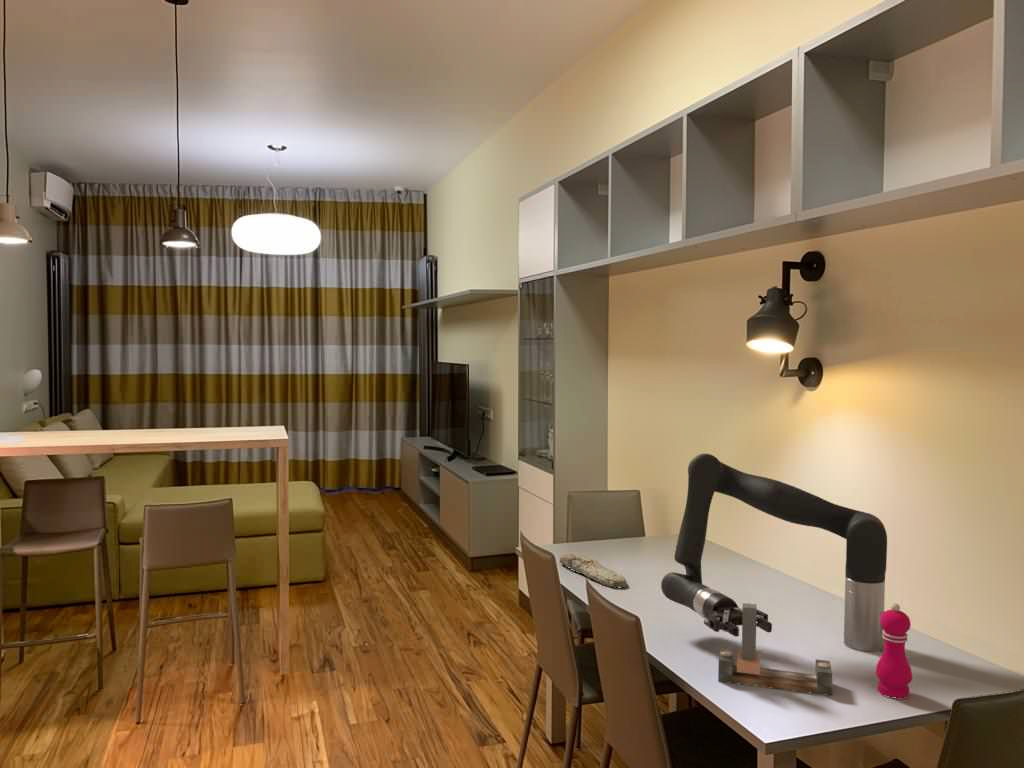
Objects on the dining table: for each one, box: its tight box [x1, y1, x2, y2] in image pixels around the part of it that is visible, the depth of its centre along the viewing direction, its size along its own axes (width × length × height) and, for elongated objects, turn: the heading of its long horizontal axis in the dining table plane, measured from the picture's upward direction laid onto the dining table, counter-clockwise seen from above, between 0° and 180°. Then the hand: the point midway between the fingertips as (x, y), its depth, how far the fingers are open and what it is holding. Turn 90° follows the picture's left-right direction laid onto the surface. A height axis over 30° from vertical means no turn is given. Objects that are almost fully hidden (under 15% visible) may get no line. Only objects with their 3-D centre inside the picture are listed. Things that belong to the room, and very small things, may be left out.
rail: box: [717, 648, 833, 696], centre depth 180 cm, size 24×7×5 cm, turn 72°
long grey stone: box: [559, 553, 628, 588], centre depth 264 cm, size 35×5×10 cm
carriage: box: [736, 602, 761, 675], centre depth 181 cm, size 5×6×14 cm
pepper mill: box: [875, 602, 913, 699], centre depth 174 cm, size 7×7×20 cm
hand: (754, 630), depth 180 cm, fingers open, 8 cm apart
